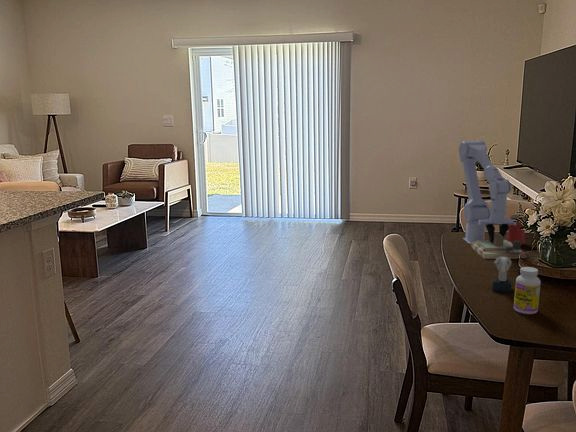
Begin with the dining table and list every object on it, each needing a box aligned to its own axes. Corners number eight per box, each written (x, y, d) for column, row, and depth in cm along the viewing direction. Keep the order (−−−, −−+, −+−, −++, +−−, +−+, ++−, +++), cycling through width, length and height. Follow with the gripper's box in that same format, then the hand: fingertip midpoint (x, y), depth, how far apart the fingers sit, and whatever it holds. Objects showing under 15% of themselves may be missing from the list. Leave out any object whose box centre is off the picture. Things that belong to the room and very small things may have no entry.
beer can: (520, 241, 235) (523, 214, 233) (525, 245, 229) (528, 218, 226) (505, 241, 236) (507, 214, 233) (509, 245, 230) (511, 218, 227)
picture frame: (470, 246, 230) (471, 237, 229) (509, 246, 229) (509, 237, 228) (483, 258, 212) (484, 248, 211) (525, 258, 211) (526, 248, 210)
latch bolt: (509, 248, 213) (509, 238, 212) (515, 248, 213) (516, 238, 212) (513, 252, 208) (514, 241, 207) (520, 252, 208) (520, 241, 207)
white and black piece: (510, 286, 181) (512, 254, 178) (510, 294, 173) (513, 261, 171) (492, 284, 183) (494, 253, 180) (492, 292, 175) (494, 260, 173)
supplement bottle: (509, 310, 160) (512, 269, 158) (519, 304, 165) (522, 264, 162) (532, 316, 156) (536, 274, 153) (541, 310, 160) (545, 269, 158)
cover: (476, 242, 228) (477, 230, 227) (505, 242, 227) (506, 230, 226) (485, 250, 216) (486, 238, 215) (516, 250, 216) (516, 238, 215)
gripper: (483, 211, 215) (480, 244, 218) (520, 211, 214) (517, 244, 217) (477, 208, 222) (475, 240, 225) (513, 207, 221) (511, 240, 224)
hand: (496, 242), depth 222 cm, fingers closed on cover, 3 cm apart
